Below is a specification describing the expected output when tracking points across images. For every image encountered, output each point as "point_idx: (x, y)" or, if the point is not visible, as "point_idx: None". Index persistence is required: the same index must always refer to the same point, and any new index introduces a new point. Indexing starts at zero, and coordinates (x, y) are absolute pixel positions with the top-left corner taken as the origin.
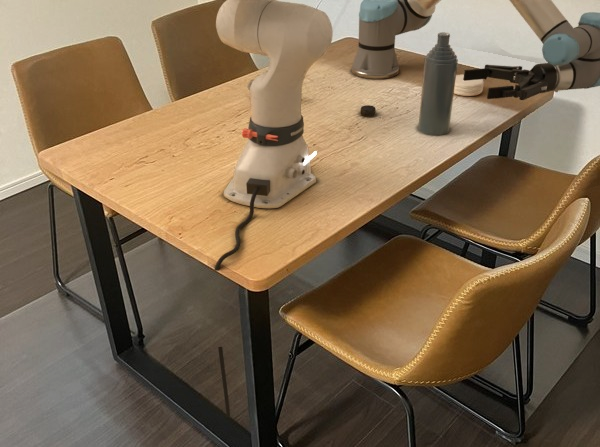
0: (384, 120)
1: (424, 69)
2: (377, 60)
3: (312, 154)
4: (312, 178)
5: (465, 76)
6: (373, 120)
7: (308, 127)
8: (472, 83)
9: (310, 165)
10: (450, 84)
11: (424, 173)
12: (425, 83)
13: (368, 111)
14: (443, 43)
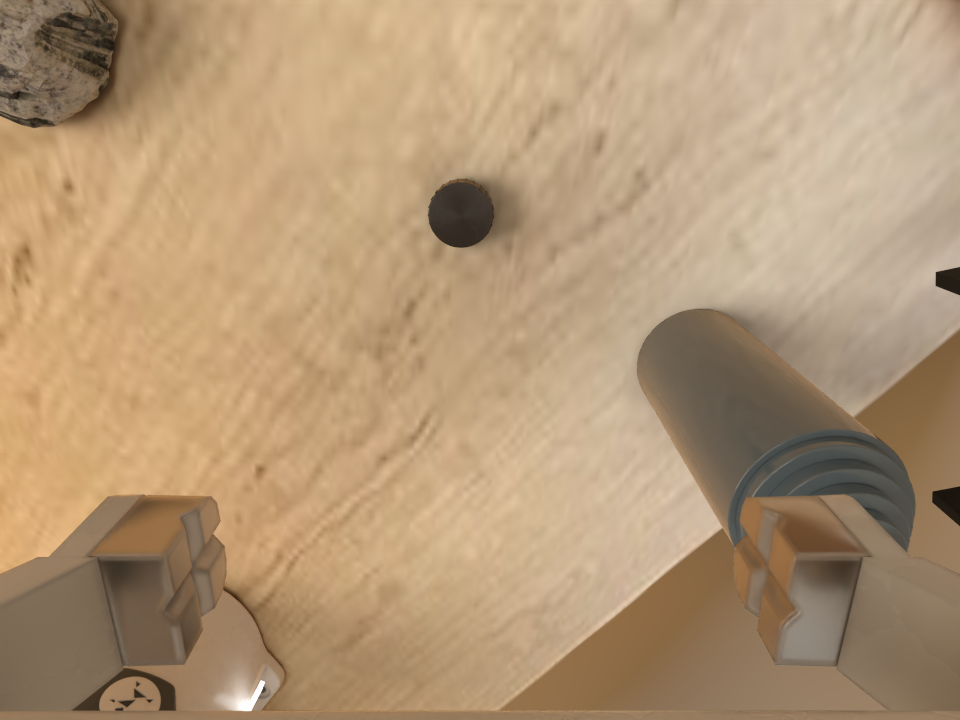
0: (523, 276)
1: (710, 492)
2: None
3: (251, 706)
4: (272, 688)
5: (953, 291)
6: (479, 274)
7: (223, 332)
8: None
9: (256, 687)
10: None
11: (581, 641)
12: (695, 480)
13: (459, 246)
14: None
